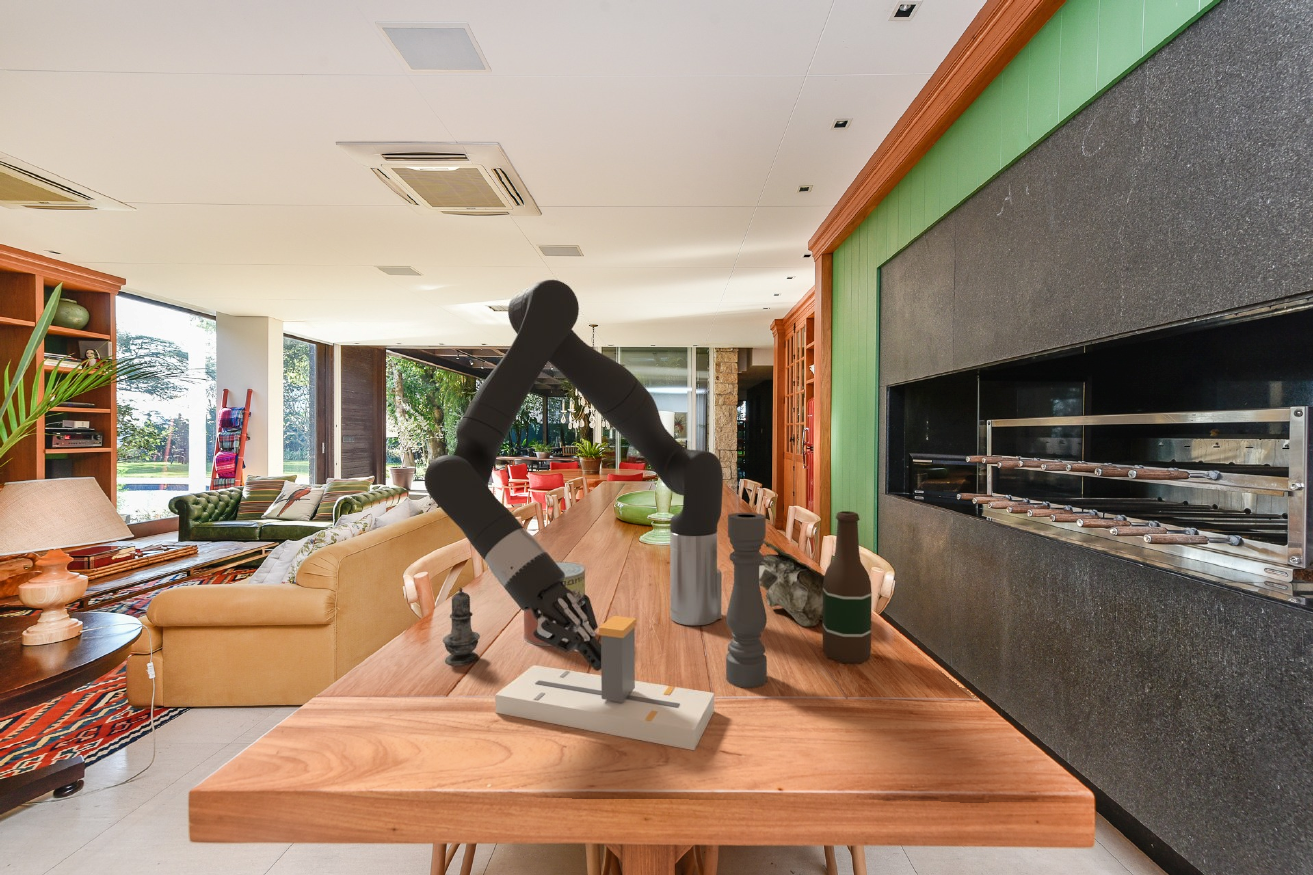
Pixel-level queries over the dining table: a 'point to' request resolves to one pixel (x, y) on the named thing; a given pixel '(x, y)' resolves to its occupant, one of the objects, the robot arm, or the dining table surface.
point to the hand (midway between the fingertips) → (604, 665)
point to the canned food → (572, 581)
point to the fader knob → (617, 658)
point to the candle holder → (746, 602)
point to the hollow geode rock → (792, 586)
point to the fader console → (608, 706)
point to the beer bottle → (847, 597)
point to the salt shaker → (461, 632)
